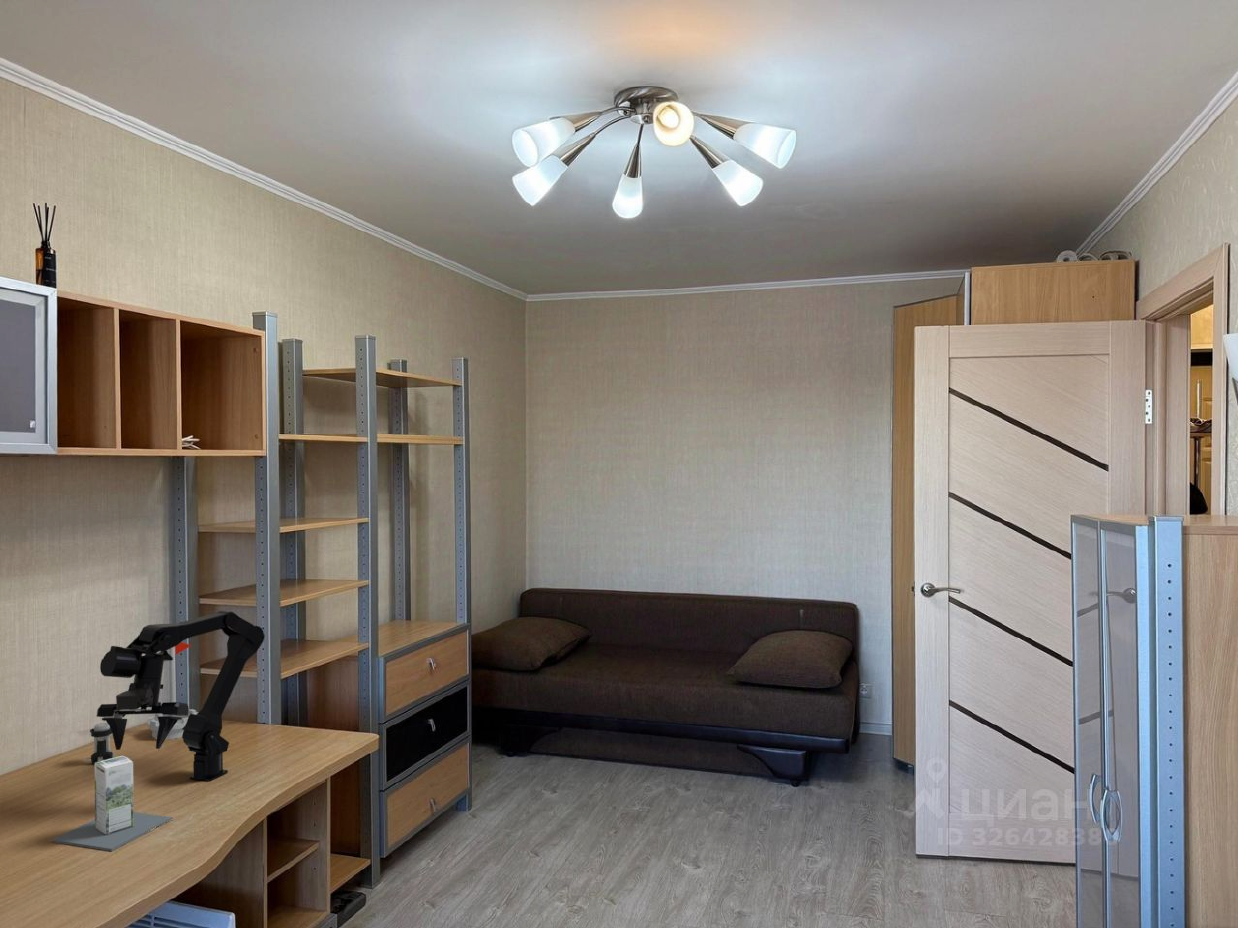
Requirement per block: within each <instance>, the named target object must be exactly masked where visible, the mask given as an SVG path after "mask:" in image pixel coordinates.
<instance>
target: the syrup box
mask: <svg viewBox="0 0 1238 928" xmlns="http://www.w3.org/2000/svg"><path fill="white" fill-rule="evenodd" d="M133 812H134V761H132V760H131V758H129V757H126V756H124V755H120V756H116V757H115V756H114V757H113V758H111V759H107V760H103V761H99V762H95V764H94V820H95V828H96V829H98V830H99V831H101V832H103V833H104V834H106V835H107V834H110V833H113V832H116V831H120V830H123V829H126V828H129V827H132V826H133V825H134V817H133V815H134V814H133Z"/></svg>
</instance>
